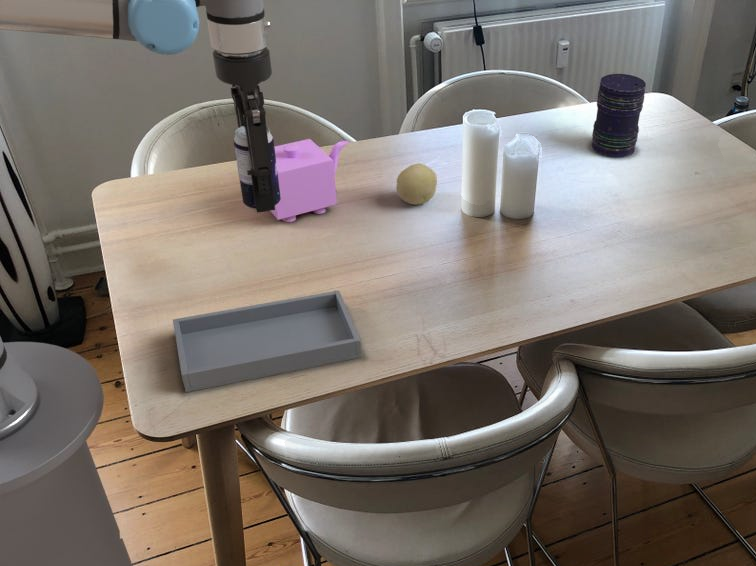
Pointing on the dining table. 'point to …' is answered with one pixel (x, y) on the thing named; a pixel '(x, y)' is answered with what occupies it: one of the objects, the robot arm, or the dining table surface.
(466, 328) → the dining table surface
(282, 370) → the tray
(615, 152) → the dark blue cylinder
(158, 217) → the dining table surface
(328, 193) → the teapot
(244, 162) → the beverage can
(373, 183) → the dining table surface
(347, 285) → the dining table surface
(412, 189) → the potato
